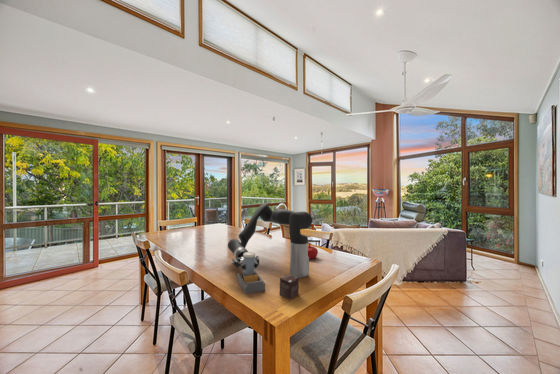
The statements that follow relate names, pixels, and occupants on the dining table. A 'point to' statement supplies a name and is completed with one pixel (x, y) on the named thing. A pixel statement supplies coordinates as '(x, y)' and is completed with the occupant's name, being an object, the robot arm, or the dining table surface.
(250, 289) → the grey open tray
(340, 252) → the dining table surface
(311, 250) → the pomegranate
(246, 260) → the jar
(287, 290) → the box
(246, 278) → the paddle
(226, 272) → the dining table surface
